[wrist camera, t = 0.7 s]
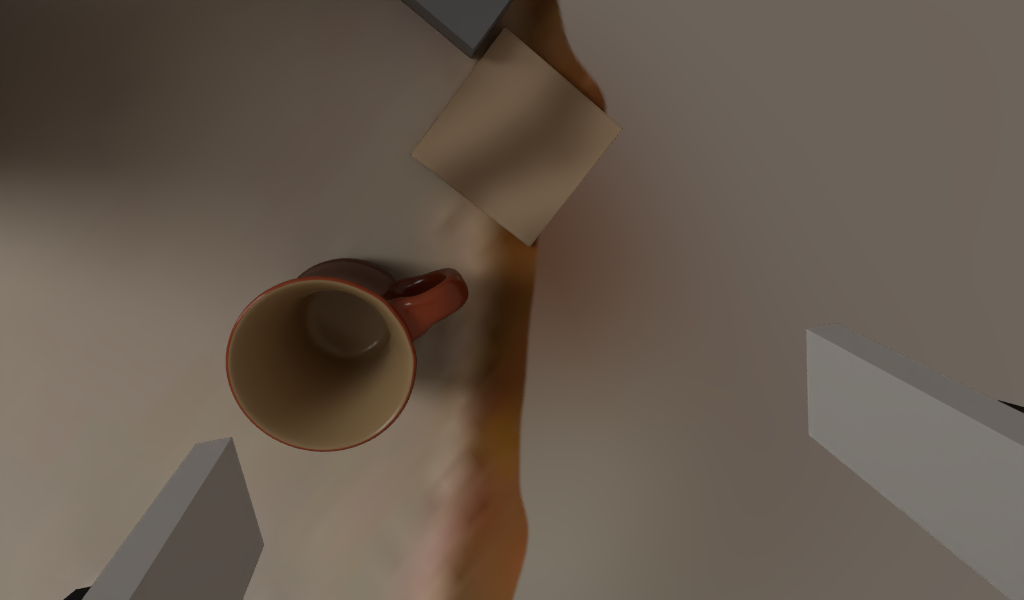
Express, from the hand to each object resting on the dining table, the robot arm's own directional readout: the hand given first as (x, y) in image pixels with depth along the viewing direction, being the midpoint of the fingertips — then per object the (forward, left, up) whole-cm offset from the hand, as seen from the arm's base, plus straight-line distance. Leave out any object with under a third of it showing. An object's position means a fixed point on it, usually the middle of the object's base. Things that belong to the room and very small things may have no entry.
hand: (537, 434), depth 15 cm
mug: (-3, -7, -27) cm, 28 cm away
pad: (-2, +6, -26) cm, 27 cm away
